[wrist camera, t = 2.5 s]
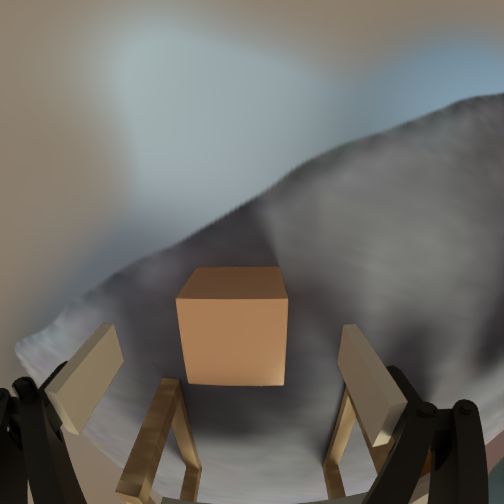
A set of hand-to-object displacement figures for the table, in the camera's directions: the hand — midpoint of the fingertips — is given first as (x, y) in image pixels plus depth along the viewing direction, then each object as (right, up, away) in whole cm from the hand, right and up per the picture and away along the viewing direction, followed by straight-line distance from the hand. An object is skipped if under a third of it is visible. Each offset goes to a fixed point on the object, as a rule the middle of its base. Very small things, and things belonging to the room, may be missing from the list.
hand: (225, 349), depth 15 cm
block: (0, +1, +6) cm, 7 cm away
